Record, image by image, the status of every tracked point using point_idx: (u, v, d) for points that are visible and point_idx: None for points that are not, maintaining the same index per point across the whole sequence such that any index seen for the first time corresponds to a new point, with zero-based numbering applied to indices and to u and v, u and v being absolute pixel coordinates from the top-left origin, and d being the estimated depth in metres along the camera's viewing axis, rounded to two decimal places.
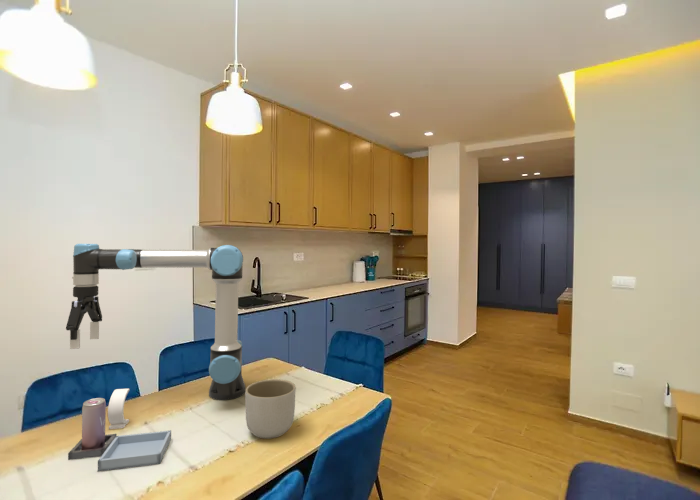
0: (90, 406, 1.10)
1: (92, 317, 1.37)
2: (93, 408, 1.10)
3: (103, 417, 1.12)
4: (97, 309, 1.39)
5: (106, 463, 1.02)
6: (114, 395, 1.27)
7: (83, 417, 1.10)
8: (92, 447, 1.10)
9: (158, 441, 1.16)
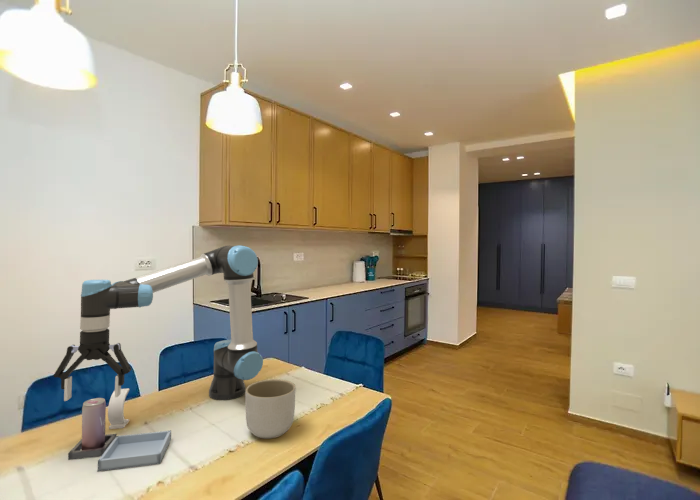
0: (90, 406, 1.10)
1: None
2: (93, 408, 1.10)
3: (103, 417, 1.12)
4: None
5: (106, 463, 1.02)
6: (114, 395, 1.27)
7: (83, 417, 1.10)
8: (92, 447, 1.10)
9: (158, 441, 1.16)
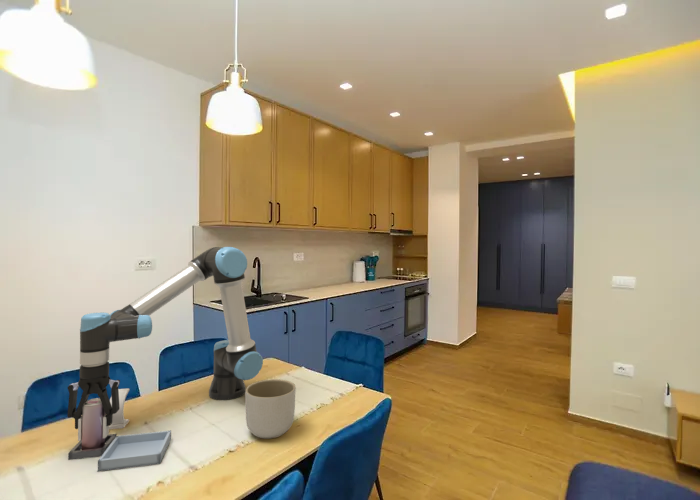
0: (90, 405, 1.10)
1: None
2: (93, 408, 1.10)
3: None
4: None
5: (106, 463, 1.02)
6: None
7: (83, 417, 1.10)
8: (92, 447, 1.10)
9: (158, 441, 1.16)
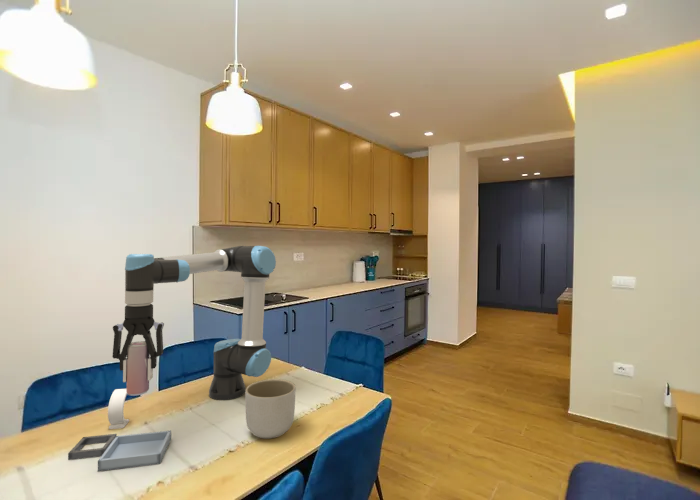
0: (135, 346, 1.07)
1: None
2: (138, 349, 1.07)
3: None
4: None
5: (106, 463, 1.02)
6: (114, 395, 1.27)
7: (128, 358, 1.07)
8: (137, 389, 1.07)
9: (158, 441, 1.16)
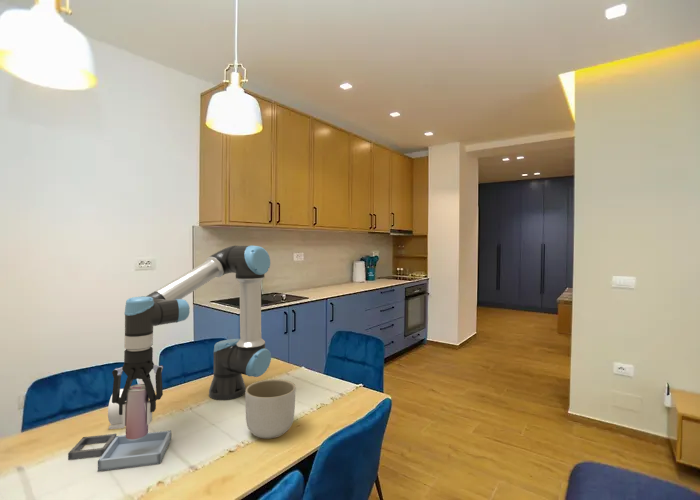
0: (135, 391, 1.07)
1: None
2: (137, 394, 1.07)
3: None
4: None
5: (106, 463, 1.02)
6: None
7: (128, 403, 1.07)
8: (137, 433, 1.07)
9: (158, 441, 1.16)
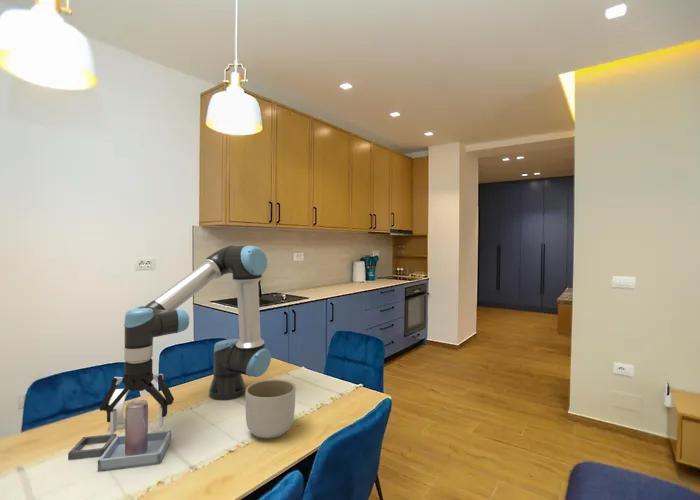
0: (134, 408, 1.07)
1: None
2: (136, 410, 1.07)
3: (146, 419, 1.10)
4: None
5: (106, 463, 1.02)
6: (114, 395, 1.27)
7: (127, 419, 1.07)
8: (136, 450, 1.07)
9: (158, 441, 1.16)
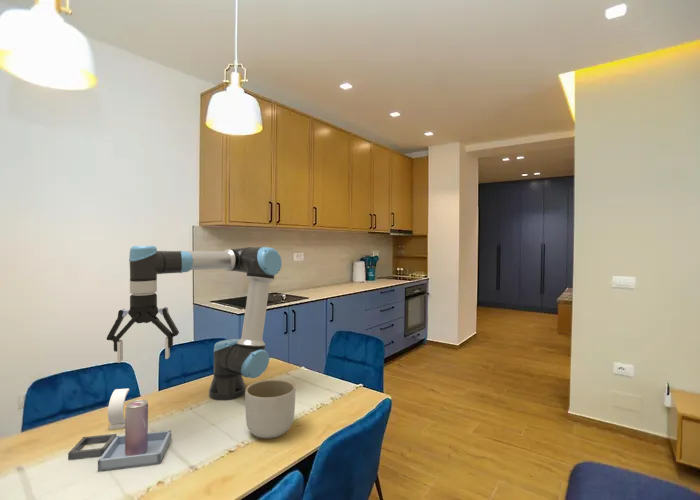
0: (134, 408, 1.07)
1: None
2: (136, 410, 1.07)
3: (146, 419, 1.10)
4: None
5: (106, 463, 1.02)
6: (114, 395, 1.27)
7: (127, 419, 1.07)
8: (136, 450, 1.07)
9: (158, 441, 1.16)
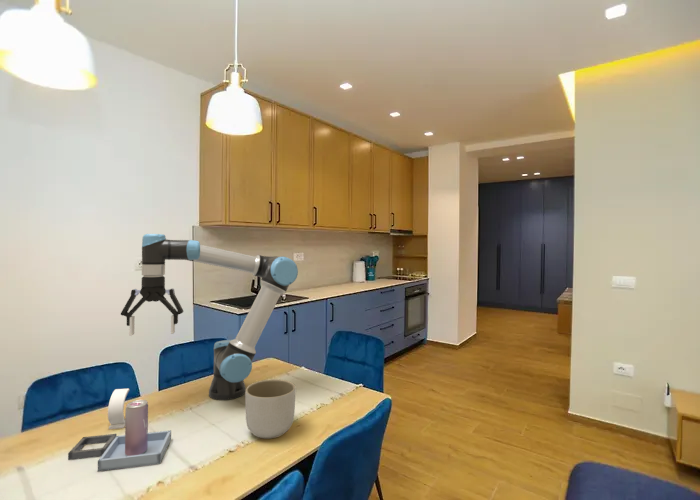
0: (134, 408, 1.07)
1: None
2: (136, 410, 1.07)
3: (146, 419, 1.10)
4: None
5: (106, 463, 1.02)
6: (114, 395, 1.27)
7: (127, 419, 1.07)
8: (136, 450, 1.07)
9: (158, 441, 1.16)
